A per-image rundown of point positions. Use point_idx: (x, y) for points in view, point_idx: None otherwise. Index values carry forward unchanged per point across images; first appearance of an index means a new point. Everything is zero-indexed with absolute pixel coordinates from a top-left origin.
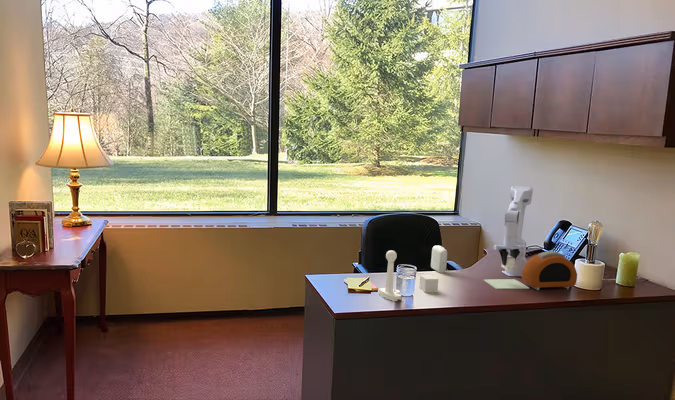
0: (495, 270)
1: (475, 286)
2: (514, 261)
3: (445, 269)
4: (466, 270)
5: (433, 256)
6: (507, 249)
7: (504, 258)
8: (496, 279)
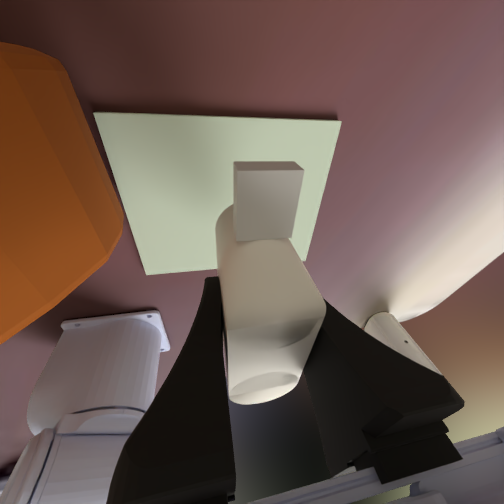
0: None
1: (402, 179)
2: (242, 269)
3: (376, 324)
4: None
5: None
6: (348, 480)
7: (345, 317)
8: None
